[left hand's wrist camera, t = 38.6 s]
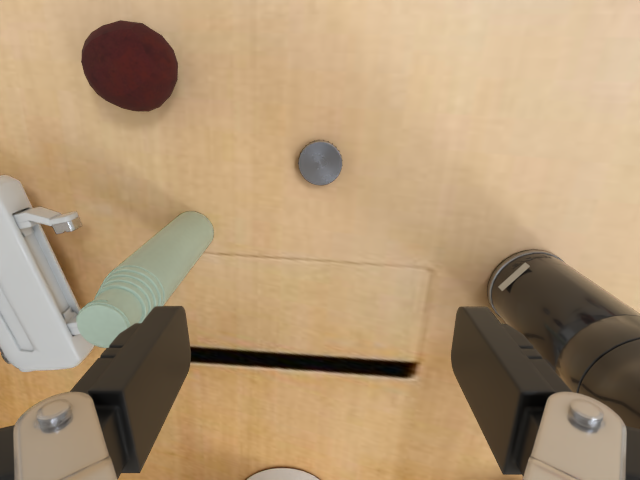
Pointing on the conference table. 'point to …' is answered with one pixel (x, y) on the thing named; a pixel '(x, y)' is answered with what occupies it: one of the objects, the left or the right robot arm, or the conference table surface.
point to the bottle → (145, 279)
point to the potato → (130, 65)
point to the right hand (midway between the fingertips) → (96, 265)
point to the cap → (320, 162)
